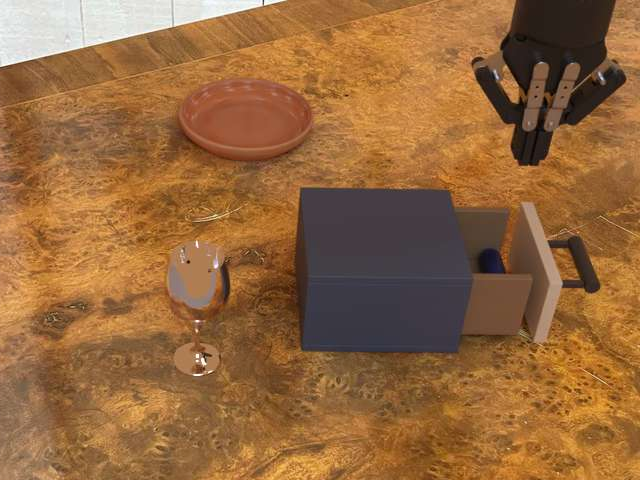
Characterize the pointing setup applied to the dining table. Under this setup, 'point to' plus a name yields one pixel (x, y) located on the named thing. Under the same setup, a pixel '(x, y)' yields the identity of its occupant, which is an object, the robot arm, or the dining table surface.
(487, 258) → the blue capsule
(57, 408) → the dining table surface
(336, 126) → the dining table surface
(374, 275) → the cabinet
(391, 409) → the dining table surface
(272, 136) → the saucer
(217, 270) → the wineglass
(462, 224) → the drawer
